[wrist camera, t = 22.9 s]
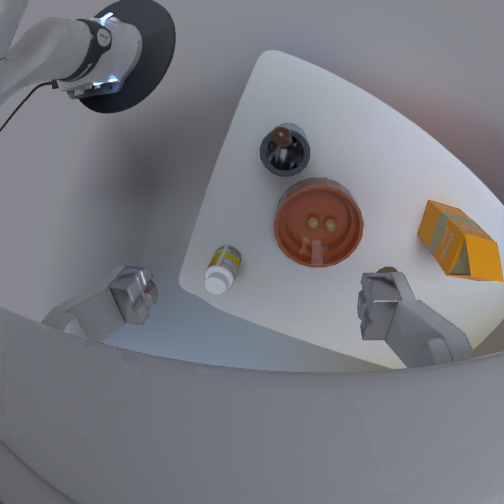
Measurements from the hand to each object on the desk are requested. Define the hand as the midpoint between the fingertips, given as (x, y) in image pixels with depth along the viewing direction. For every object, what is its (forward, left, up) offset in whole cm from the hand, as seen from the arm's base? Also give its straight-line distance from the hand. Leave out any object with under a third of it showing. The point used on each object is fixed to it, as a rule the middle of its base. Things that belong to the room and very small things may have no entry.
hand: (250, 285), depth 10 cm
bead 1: (+4, -15, -37) cm, 40 cm away
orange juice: (+31, -14, -39) cm, 52 cm away
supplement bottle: (-13, -23, -39) cm, 47 cm away
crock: (0, 0, -39) cm, 39 cm away
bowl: (+5, -14, -39) cm, 42 cm away
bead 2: (+7, -15, -37) cm, 41 cm away
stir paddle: (0, -1, -38) cm, 38 cm away
